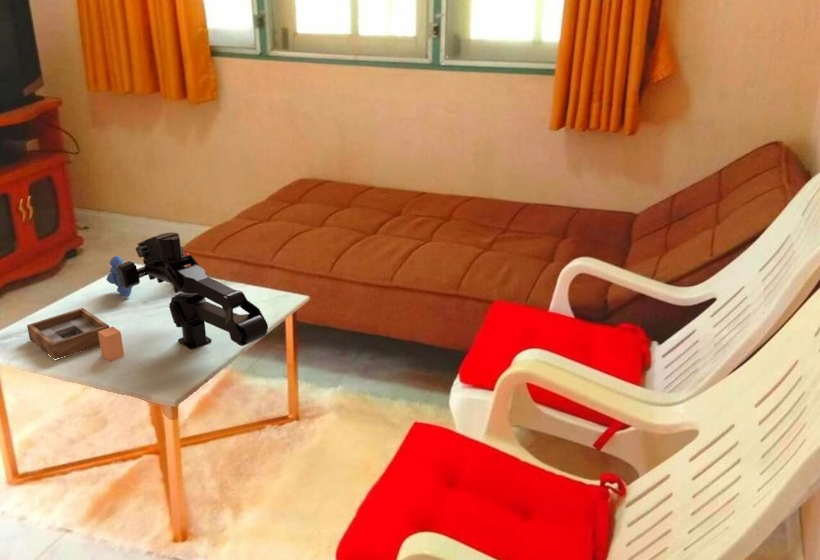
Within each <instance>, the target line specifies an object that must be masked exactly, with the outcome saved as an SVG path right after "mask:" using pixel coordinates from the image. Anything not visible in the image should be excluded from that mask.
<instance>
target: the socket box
mask: <svg viewBox="0 0 820 560" xmlns="http://www.w3.org/2000/svg"><path fill="white" fill-rule="evenodd" d="M26 327H27V332H28V333H27V334H28V338H29V341H30V340H31V341H32V342H31V341H30V342H31V343H32V344H34V343H35V344H36V345H37V346H36V345H35V344H34V345H35V346H36V347H38V346H39V347H40V348H41V349H42V350H44V351H45V352H46V353H47V354H49V355H50V356H51V357H52V358H54V359H57V358H61V357H64V356H67V357H69V356H68V355H70V356H72V355H71V354H73V355H75V354H74V353H76V354H78V353H77V352H79V353H81V352H80V351H82V352H84V351H87V350H89V349H93V348H95V347H98V346H100V342H99V336H98V331H101V330H104V329H107V328H110V325H109V324H107V323H106V322H105V321H103V320H101V319H100V318H98V317H97V316H96V315H94V314H93V313H91V312H90V311H88V310H87V309H85V308H84V307H80V308H77V309H74V310H71V311H68V312H64V313H60V314H57V315H55V316H52V317H48V318H45V319H42V320H40V321H39V320H38V321H35V322H33V323H29V324H27V325H26ZM67 336H68V337H67ZM64 337H65V338H64ZM39 347H38V348H39ZM40 348H39V349H40ZM41 349H40V350H41ZM42 350H41V351H42ZM83 350H84V351H83ZM44 351H43V352H44ZM45 352H44V353H45ZM46 353H45V354H46ZM47 354H46V355H47ZM49 355H48V356H49ZM50 356H49V357H50ZM51 357H50V358H51ZM52 358H51V359H52ZM54 359H53V360H54Z"/></svg>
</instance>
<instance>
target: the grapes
mask: <svg viewBox="0 0 820 560" xmlns="http://www.w3.org/2000/svg"><path fill="white" fill-rule="evenodd" d="M123 263H125V262H124V259H123V258H122V257H121V256H119V255H115V256H113V257H112V258H111V259H110V261H109V265H110V266H111V267H110V270H109V273H108V274H107V277H106V279H105V280H106V281H107V282H108V283H109V284H111V285H115V286H116V287H117V289H116V292H118V293H119V294H120V295H122V296H123V297H124V298H129V297H130V296H131V294H132V290H133V287H130V288H125V287H123V286H122V285H121V281H120V277H119V273H118V270H117V268H118V266H119V265H120V264H123Z"/></svg>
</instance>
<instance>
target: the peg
mask: <svg viewBox="0 0 820 560" xmlns="http://www.w3.org/2000/svg"><path fill="white" fill-rule="evenodd" d="M98 336H99V342H100V345H99V346H100V353H101V356H102V358H104V359H105V358H106V359H105V360H107V361H108V362H112V361H114V360H117V359H119V358H122V357H124V356H125V353H124V346H123V345H124V344H123V338H122V333H121V331H120V330H119V329H118V328H116V327H114V326H109V328H107V329H104V330H101V331H98ZM111 360H112V361H111Z"/></svg>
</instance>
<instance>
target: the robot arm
mask: <svg viewBox="0 0 820 560" xmlns="http://www.w3.org/2000/svg"><path fill="white" fill-rule="evenodd" d="M137 245H138V246H136V247H135V251H136V254H137V255H138V258H142V262H143V264H144V266H142V267H139V268H137V265H136V264H135V262H133V261H131V260H130V261H126V262H124V263H123V264H120V265H119V266H118V268H117V270H118V273H119V277H120V281H121V285H122V286H123V287H125V288H130V287H132V288H133V287H135V286H138V285H139V284H140V282H141V280H140V278H143V277H145V276H148V279H149V280H151V281H153V280H155V279H156V281H157V283H159V284H161V283H164V282H166V283H169V284H172V287H173V292H174V293H175V295H174V296H172V297H171V299H170V302H169V304H168V305H169V307H168V308H169V311H170V314H171V317H172V321H173V323H174V324H175V326H176V327H175V328H181V332H182V337H180V338H178V339H177V342H179V343H181V344H182V345H183V346H185V347H187V348H188V349H189V350H194V349H196V348H199V347H201V346H203V345H206V344H208V343H211V342H212V338H210V337H209V336H207V333H206V323H207V324H209V325H211V326H214V327H216V328H218V329H220V330H223V331H225V332H227V333H228V334H229V338H230V341H232V342H234V343H235V344H237V345H238V346H240V347H244V346H246V345H249V344H251V343H254V342H255V341H258V340H261V339H263V338H265V337H266V336H267V333H268V329H269V324H268V322H267V321H266V319H265V317H264V315H263V313H262V311H261V310H260V308H258V306H256V305H255V304H253V303H252V302H251V301H249V300H248V299H247V296H246V295H245V294H244V292H243V291H242V290H238V289H234V288H232V287H230V286H228V285H225V283H224V284H223V283H222V282H219V281H217V280H215V279H213V278H211V277H210V276H209V275H207V271H206V270H205V269H204V268H203V267H201V265H200V264H199V263H198V262H197V260H196V259H195V257H194V256H193V254H190V255H187V256H185V255H184V254H185V252H184V248H183V247H182V245H181V239H180V234H179V233H177V232H165V233H160V234H157V235H155V236H152V237H150V238H147V239H145V240H141V241H140V242H138V243H137ZM185 265H186V267H185ZM180 292H181V293H180ZM176 293H178V294H176ZM206 299H208V300H209V301H211V302H213V303H211V302H209V301H207V300H206ZM214 303H215V304H214ZM216 304H217V305H216ZM236 308H241V309H242V310H243V311H245V312H246V313H245V314H244V313H243V314H238V313H236V312H234V309H236Z"/></svg>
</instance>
